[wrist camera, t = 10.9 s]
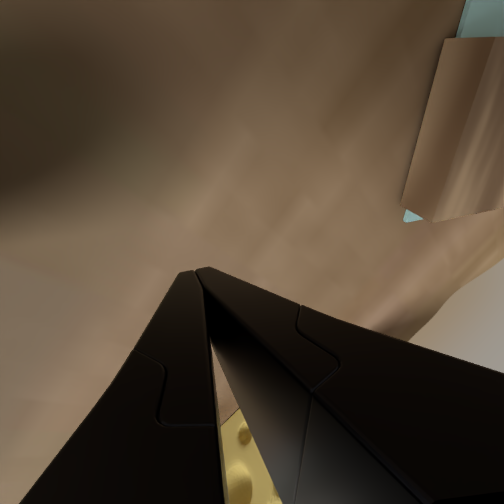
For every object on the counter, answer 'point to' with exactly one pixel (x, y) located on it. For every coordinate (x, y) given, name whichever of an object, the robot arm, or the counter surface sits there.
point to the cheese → (245, 465)
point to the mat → (476, 35)
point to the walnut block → (461, 134)
